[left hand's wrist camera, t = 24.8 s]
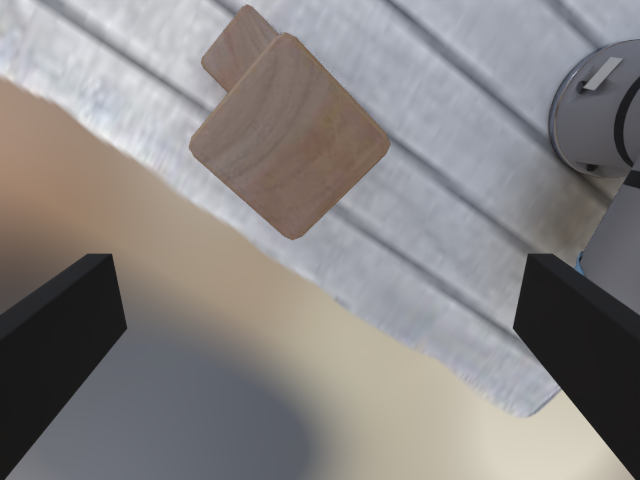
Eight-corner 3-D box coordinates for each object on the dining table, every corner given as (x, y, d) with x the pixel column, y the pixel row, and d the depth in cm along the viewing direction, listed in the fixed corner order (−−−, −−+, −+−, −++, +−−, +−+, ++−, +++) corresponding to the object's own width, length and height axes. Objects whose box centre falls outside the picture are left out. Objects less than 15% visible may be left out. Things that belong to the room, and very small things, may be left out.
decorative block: (256, 13, 43) (139, -131, 15) (351, 112, 47) (398, 146, 19) (213, 66, 45) (39, 26, 17) (308, 158, 49) (292, 249, 21)
